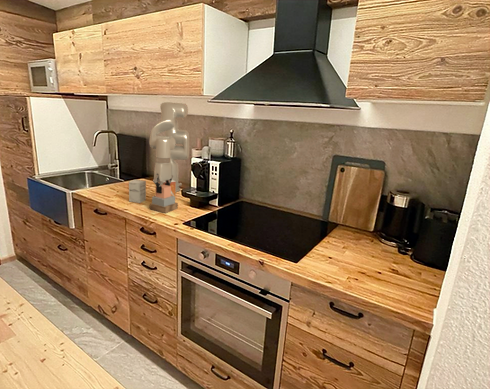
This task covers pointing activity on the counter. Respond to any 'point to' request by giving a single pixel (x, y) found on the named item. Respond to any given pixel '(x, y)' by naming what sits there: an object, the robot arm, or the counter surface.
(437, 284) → the counter surface
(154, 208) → the tower bottom
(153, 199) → the tower top
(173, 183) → the small box
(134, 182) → the supplement box
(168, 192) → the terracotta block
